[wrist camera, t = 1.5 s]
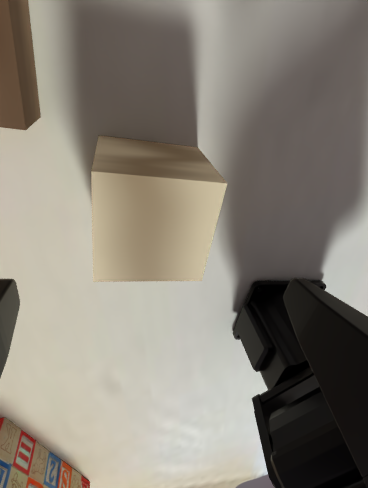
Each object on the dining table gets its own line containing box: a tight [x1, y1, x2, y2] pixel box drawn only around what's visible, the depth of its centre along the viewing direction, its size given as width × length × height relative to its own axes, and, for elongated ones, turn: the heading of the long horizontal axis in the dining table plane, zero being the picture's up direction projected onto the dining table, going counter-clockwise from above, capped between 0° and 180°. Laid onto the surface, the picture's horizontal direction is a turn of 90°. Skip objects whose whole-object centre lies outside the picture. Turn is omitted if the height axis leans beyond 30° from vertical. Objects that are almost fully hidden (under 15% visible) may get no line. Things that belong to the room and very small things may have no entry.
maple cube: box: [91, 135, 227, 282], centre depth 13 cm, size 5×5×5 cm
